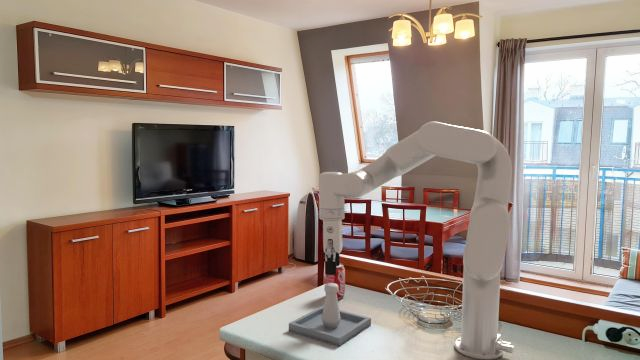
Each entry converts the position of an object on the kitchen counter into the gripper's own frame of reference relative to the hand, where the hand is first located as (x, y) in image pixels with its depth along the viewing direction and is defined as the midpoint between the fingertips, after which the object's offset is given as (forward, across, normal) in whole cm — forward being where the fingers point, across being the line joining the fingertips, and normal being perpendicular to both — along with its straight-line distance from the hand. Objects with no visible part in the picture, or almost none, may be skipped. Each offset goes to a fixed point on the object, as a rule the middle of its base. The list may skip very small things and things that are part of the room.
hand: (332, 269), depth 142 cm
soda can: (+18, +28, +2) cm, 33 cm away
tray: (+18, 0, +1) cm, 18 cm away
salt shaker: (+18, 0, +1) cm, 18 cm away
